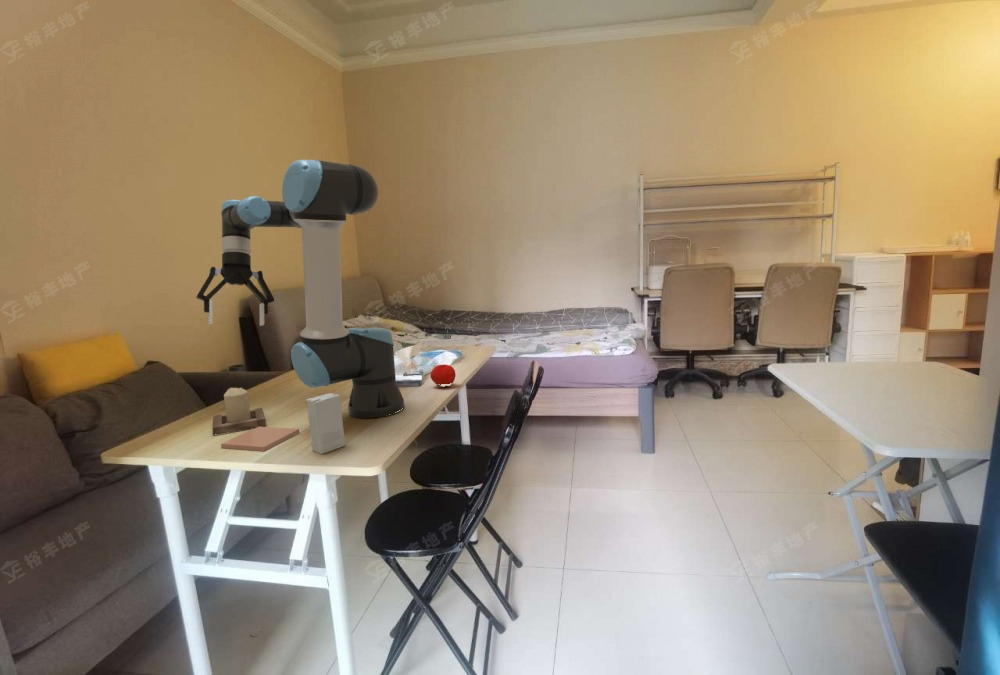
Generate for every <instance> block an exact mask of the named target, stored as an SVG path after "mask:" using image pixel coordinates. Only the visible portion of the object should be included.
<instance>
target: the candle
mask: <svg viewBox="0 0 1000 675" xmlns="http://www.w3.org/2000/svg"><path fill="white" fill-rule="evenodd" d="M223 399H224V400H223V401H224V407H225V414H226V415H227V423H232V422H238V421H244V420H250V419H252V418H251V416H250V410H251V409H250V403H249V394H248V390H246V389H244V388H243V387H229V388H228V389H227V390H226V392H225V393H224V394H223Z"/></svg>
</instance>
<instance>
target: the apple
mask: <svg viewBox="0 0 1000 675" xmlns="http://www.w3.org/2000/svg"><path fill="white" fill-rule="evenodd" d="M430 379H431V381H432V382H433V383H434V384H435V385H436V384H440V385H441V384H450V383H452V384H453V383H454V381H455V379H456V370H455V369H454V367H453V366H452V365H450V364H444V363H443V364H438V365H436V366H434V367H433V369H432V370H431V371H430Z"/></svg>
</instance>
